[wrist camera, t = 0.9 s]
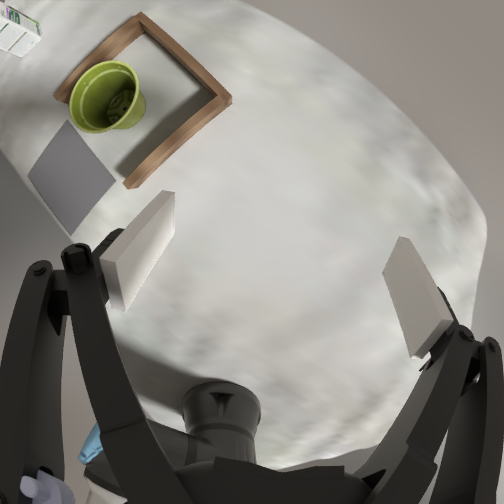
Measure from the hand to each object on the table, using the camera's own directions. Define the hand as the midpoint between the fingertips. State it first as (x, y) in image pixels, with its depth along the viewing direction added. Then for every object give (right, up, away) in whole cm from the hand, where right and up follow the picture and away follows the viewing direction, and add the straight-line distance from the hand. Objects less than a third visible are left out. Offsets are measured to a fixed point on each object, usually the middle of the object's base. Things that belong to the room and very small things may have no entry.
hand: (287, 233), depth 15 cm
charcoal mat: (-30, +10, +19) cm, 38 cm away
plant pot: (-20, +19, +18) cm, 33 cm away
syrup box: (-43, +39, +11) cm, 59 cm away
